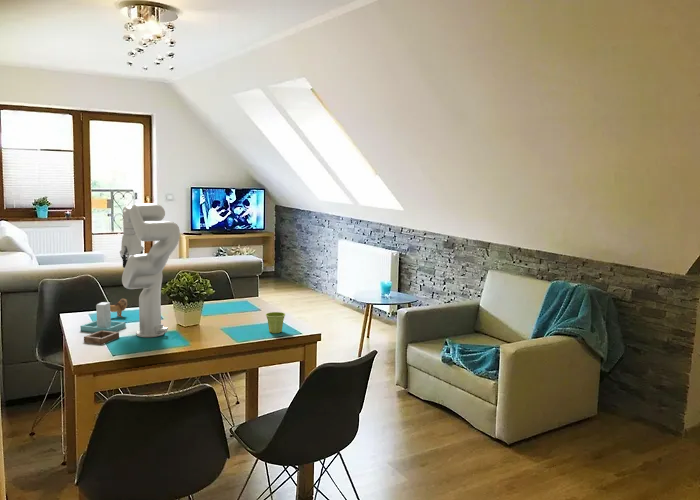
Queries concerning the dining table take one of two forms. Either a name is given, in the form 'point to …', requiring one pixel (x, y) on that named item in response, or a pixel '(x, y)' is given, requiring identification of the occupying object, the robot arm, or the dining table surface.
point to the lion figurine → (119, 307)
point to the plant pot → (275, 321)
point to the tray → (93, 328)
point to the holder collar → (105, 334)
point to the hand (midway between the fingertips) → (132, 266)
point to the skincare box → (103, 315)
